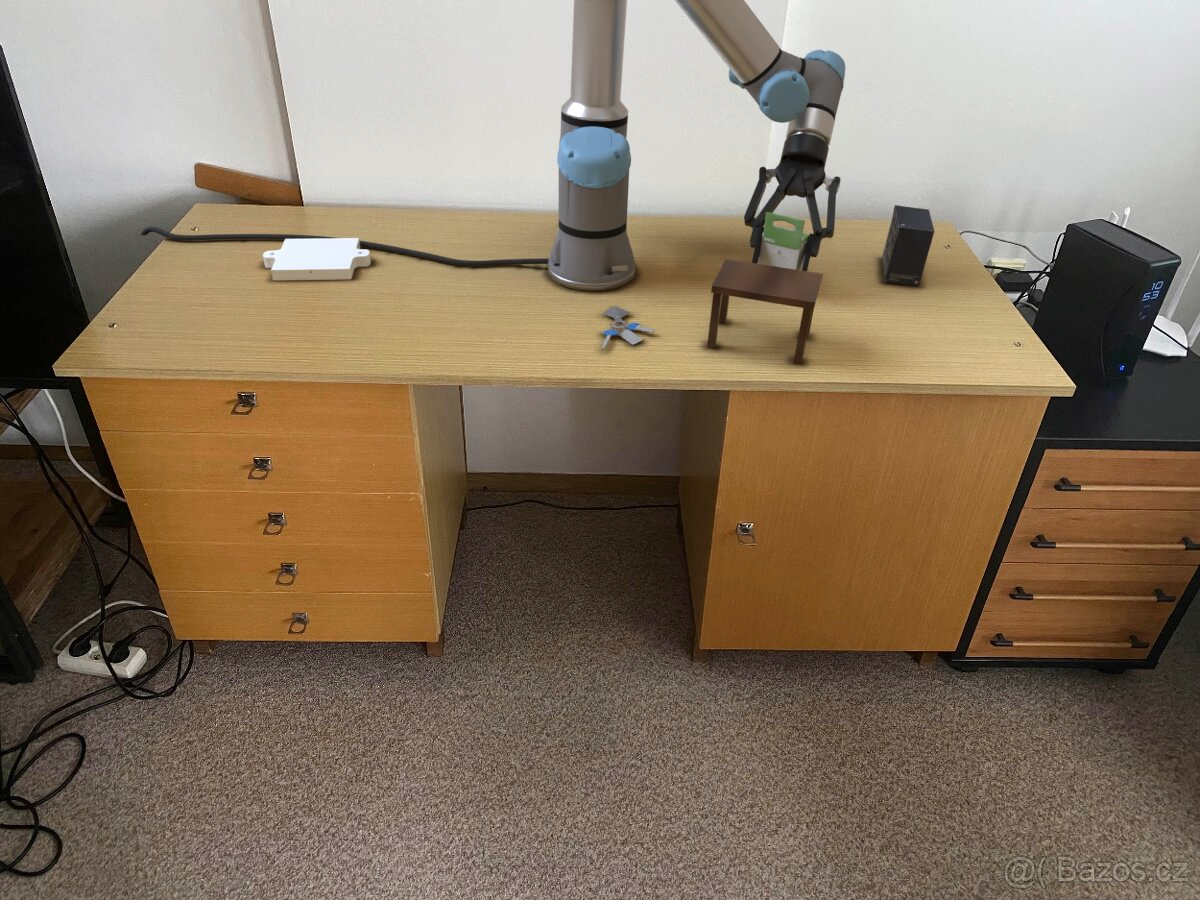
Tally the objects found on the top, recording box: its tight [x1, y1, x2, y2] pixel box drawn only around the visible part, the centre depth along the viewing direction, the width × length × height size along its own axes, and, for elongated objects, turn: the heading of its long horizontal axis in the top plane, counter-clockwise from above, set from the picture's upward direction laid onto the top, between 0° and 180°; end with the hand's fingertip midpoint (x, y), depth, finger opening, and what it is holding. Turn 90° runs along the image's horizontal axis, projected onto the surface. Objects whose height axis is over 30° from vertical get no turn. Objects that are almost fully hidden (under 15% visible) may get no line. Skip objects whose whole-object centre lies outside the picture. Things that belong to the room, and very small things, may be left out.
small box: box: [880, 204, 935, 287], centre depth 155 cm, size 11×6×10 cm, turn 168°
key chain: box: [601, 306, 656, 350], centre depth 138 cm, size 14×8×1 cm, turn 178°
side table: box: [706, 258, 824, 365], centre depth 134 cm, size 15×10×10 cm, turn 72°
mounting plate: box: [262, 237, 372, 281], centre depth 154 cm, size 18×13×2 cm
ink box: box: [758, 212, 810, 271], centre depth 148 cm, size 7×4×13 cm, turn 57°
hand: (778, 269), depth 146 cm, fingers closed on ink box, 8 cm apart
